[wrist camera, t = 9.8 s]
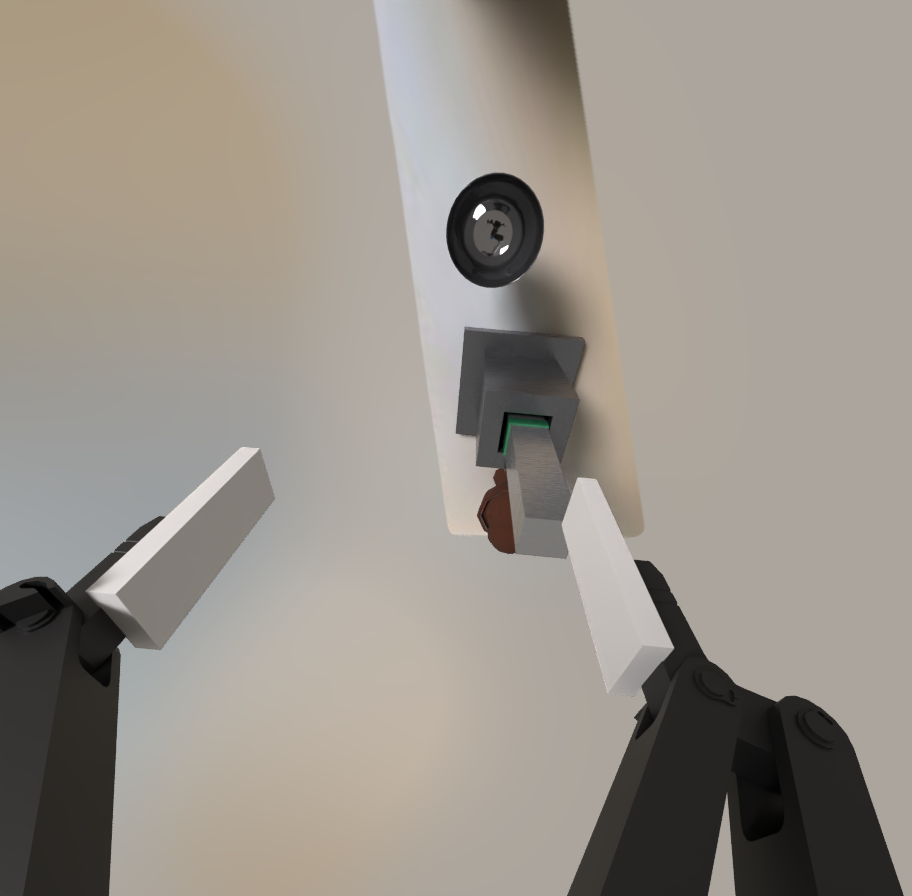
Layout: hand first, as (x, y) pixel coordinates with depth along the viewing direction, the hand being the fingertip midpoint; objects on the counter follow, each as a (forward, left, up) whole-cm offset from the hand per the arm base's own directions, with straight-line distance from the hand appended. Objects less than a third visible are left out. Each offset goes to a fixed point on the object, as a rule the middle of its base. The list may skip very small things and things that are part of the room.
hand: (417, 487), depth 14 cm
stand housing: (+10, +9, -37) cm, 39 cm away
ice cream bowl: (+27, +11, -37) cm, 47 cm away
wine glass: (-9, +3, -37) cm, 38 cm away
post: (+10, +9, -28) cm, 31 cm away
